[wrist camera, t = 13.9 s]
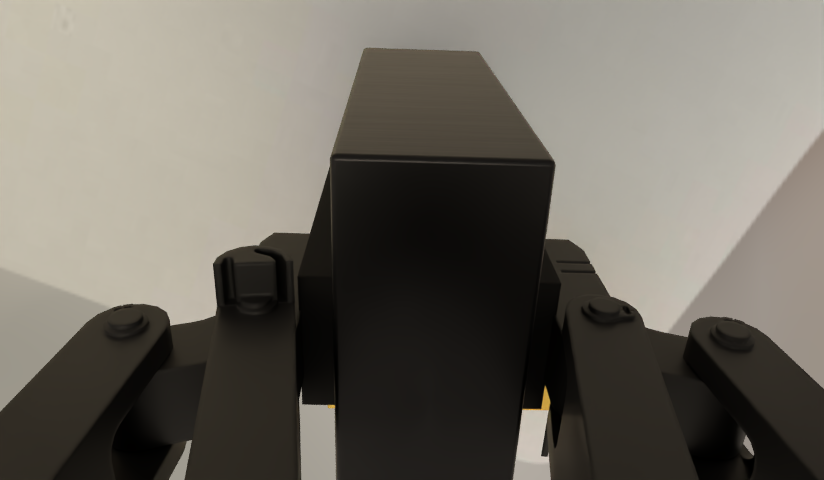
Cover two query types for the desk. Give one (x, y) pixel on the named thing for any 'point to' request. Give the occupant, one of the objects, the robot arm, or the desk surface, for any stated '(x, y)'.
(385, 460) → the black and grey bar
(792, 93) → the desk surface
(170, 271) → the desk surface
